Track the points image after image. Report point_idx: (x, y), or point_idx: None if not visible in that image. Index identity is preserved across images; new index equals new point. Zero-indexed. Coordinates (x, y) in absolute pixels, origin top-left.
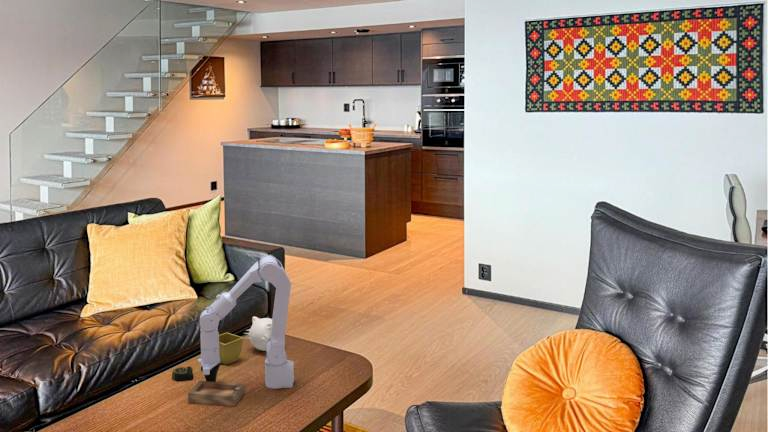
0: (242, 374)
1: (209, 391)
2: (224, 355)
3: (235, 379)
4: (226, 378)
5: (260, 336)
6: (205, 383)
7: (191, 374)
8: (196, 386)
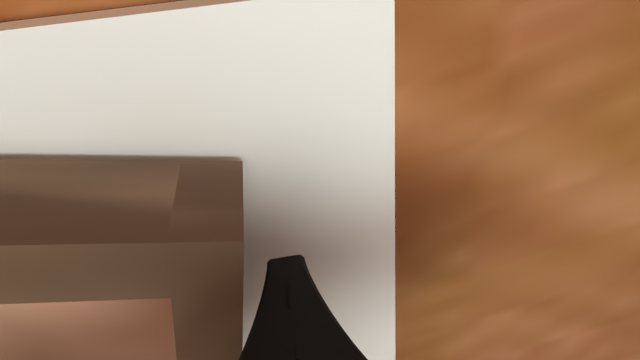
0: (620, 332)
1: (112, 336)
2: None
3: (537, 320)
4: (573, 257)
5: None
6: (175, 331)
7: None
8: (25, 274)
